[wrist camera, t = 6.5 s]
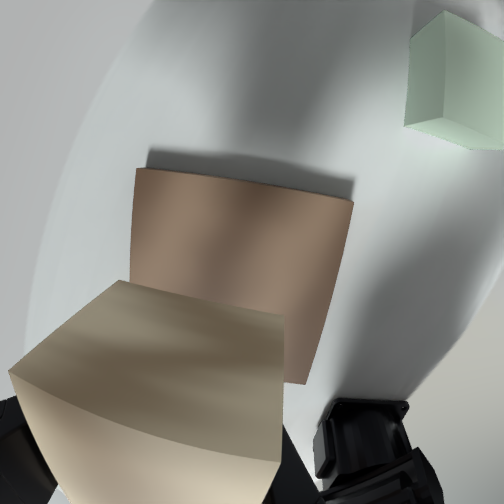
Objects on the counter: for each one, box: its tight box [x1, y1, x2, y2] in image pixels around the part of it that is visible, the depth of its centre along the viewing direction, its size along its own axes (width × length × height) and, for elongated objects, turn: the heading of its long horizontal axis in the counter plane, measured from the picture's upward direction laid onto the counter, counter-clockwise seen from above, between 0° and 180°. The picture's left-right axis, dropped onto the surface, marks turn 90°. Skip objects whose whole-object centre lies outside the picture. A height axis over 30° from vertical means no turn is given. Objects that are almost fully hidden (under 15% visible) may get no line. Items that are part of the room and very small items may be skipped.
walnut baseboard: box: [130, 168, 354, 385], centre depth 18 cm, size 12×12×1 cm
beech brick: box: [8, 280, 284, 504], centre depth 7 cm, size 5×6×5 cm
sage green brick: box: [404, 10, 504, 150], centre depth 12 cm, size 5×6×5 cm
